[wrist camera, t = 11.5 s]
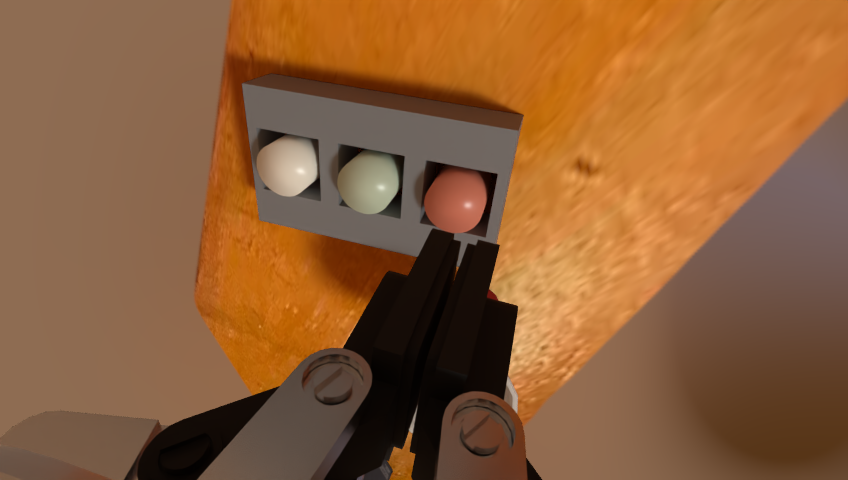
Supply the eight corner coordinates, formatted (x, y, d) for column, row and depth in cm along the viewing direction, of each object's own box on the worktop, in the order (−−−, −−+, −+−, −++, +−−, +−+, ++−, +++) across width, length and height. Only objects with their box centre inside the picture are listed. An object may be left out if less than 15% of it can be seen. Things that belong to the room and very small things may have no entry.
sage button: (361, 136, 37) (336, 156, 33) (411, 145, 36) (392, 167, 32) (361, 184, 39) (337, 207, 35) (408, 194, 38) (389, 219, 34)
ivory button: (285, 122, 38) (253, 139, 34) (333, 131, 37) (305, 149, 33) (289, 169, 40) (259, 190, 37) (333, 178, 40) (308, 201, 36)
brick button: (442, 151, 36) (426, 173, 32) (496, 161, 35) (487, 185, 31) (436, 200, 38) (421, 226, 34) (487, 210, 37) (477, 238, 33)
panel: (271, 73, 37) (241, 83, 33) (523, 115, 33) (518, 130, 30) (283, 201, 43) (259, 220, 40) (495, 248, 39) (488, 273, 36)
